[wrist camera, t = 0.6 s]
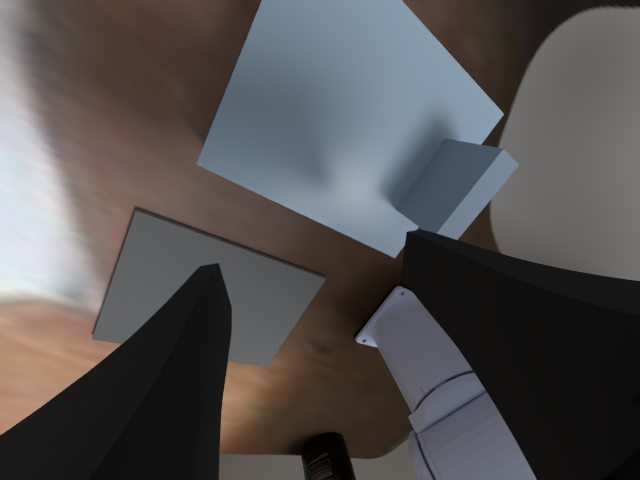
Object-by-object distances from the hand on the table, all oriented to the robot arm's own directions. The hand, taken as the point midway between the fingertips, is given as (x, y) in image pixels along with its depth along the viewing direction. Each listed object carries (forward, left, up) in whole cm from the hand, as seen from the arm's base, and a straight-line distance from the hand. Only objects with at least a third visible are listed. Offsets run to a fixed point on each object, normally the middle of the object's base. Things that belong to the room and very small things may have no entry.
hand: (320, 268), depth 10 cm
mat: (+1, +12, -10) cm, 15 cm away
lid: (-1, -5, -7) cm, 9 cm away
